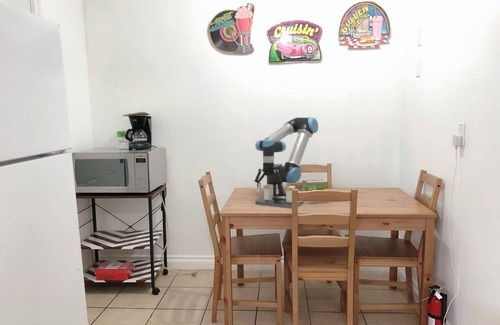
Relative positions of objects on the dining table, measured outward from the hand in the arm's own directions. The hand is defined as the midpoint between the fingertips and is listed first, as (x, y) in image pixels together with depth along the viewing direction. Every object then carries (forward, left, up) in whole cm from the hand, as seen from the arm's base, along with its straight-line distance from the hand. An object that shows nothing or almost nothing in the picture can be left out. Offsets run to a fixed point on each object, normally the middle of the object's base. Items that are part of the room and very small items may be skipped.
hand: (268, 193), depth 239 cm
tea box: (-16, +28, -7) cm, 33 cm away
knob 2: (0, +16, -5) cm, 17 cm away
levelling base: (0, +8, -7) cm, 10 cm away
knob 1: (0, 0, -5) cm, 5 cm away
